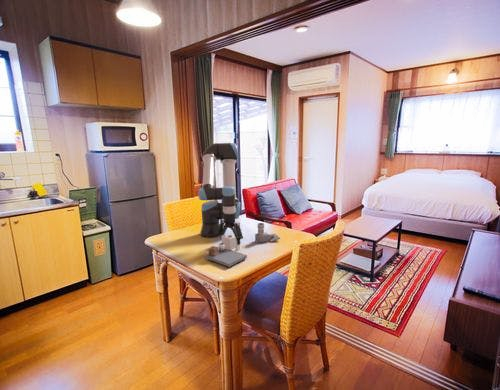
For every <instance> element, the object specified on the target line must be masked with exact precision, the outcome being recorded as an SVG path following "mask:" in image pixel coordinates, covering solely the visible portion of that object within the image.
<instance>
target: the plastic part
mask: <svg viewBox="0 0 500 390" xmlns="http://www.w3.org/2000/svg"><path fill="white" fill-rule="evenodd" d="M224 240H225V248H226V249H229V250H232V251H233V250H234V249H236V237H235V235H233V234H229V235H225V237H224Z"/></svg>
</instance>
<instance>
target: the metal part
mask: <svg viewBox="0 0 500 390" xmlns="http://www.w3.org/2000/svg"><path fill="white" fill-rule="evenodd" d="M218 247H219V252H225V244H224V243H222V242H220V243H219V244H218Z"/></svg>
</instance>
